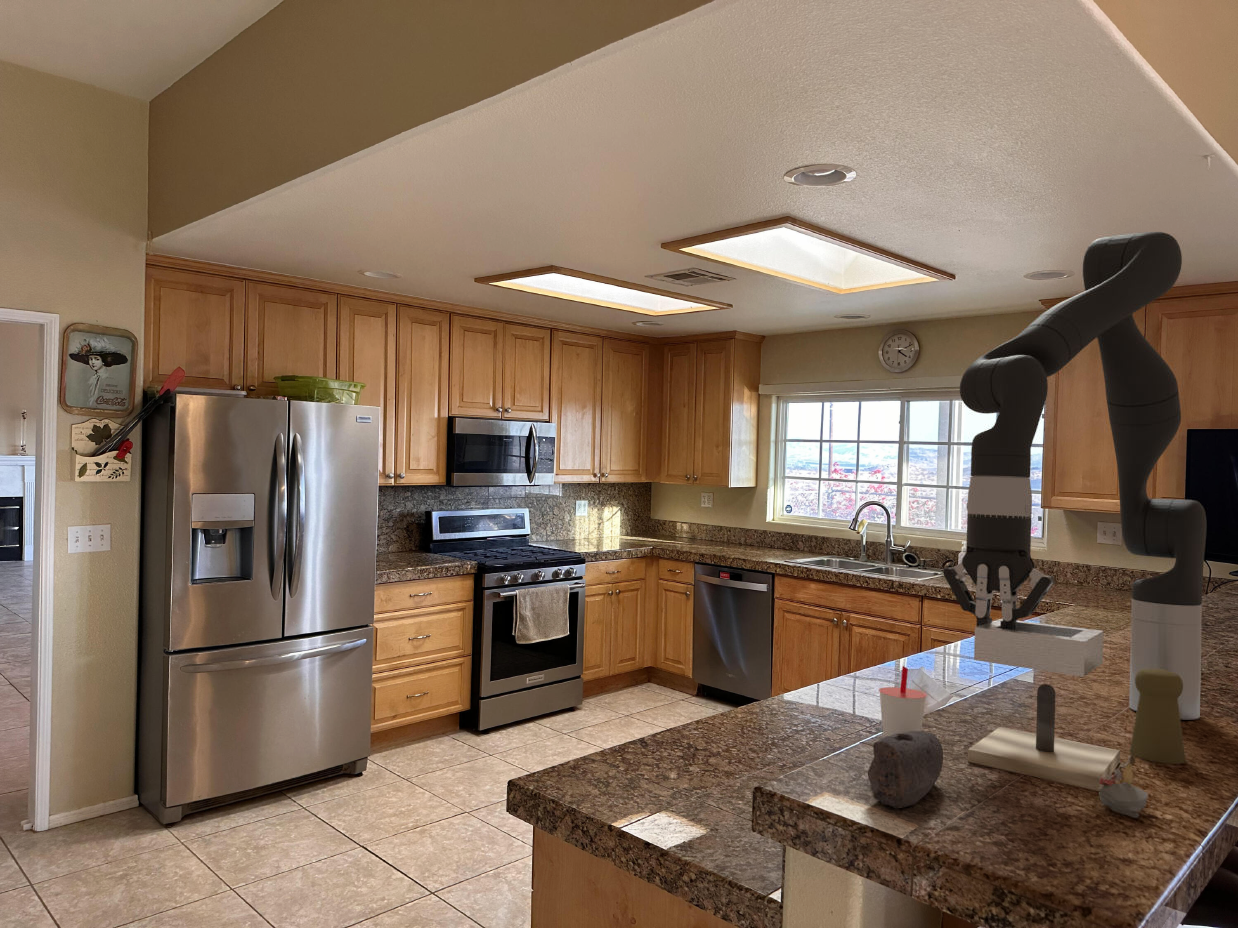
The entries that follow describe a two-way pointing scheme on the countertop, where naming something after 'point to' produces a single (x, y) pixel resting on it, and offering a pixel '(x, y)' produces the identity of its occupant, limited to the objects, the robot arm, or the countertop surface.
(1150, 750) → the cork
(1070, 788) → the countertop surface
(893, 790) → the perforated stone tool
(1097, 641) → the grey hollow block
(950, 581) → the robot arm
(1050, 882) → the countertop surface
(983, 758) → the block
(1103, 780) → the figurine
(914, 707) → the cup
